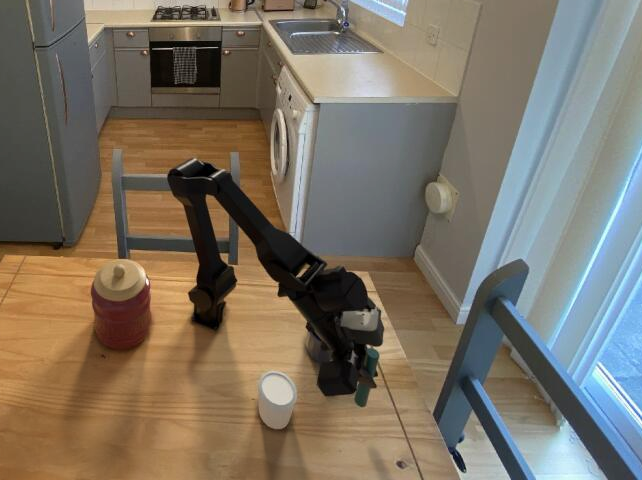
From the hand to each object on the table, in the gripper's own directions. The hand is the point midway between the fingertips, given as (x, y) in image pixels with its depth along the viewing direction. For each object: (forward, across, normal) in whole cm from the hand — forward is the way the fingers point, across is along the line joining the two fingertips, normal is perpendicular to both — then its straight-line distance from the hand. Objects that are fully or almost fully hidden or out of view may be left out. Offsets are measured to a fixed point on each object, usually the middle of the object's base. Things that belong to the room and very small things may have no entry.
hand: (375, 381), depth 73 cm
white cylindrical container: (-3, -7, +18) cm, 20 cm away
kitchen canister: (-28, -6, +43) cm, 52 cm away
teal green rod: (+4, 0, +6) cm, 7 cm away
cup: (+1, +10, +14) cm, 17 cm away
